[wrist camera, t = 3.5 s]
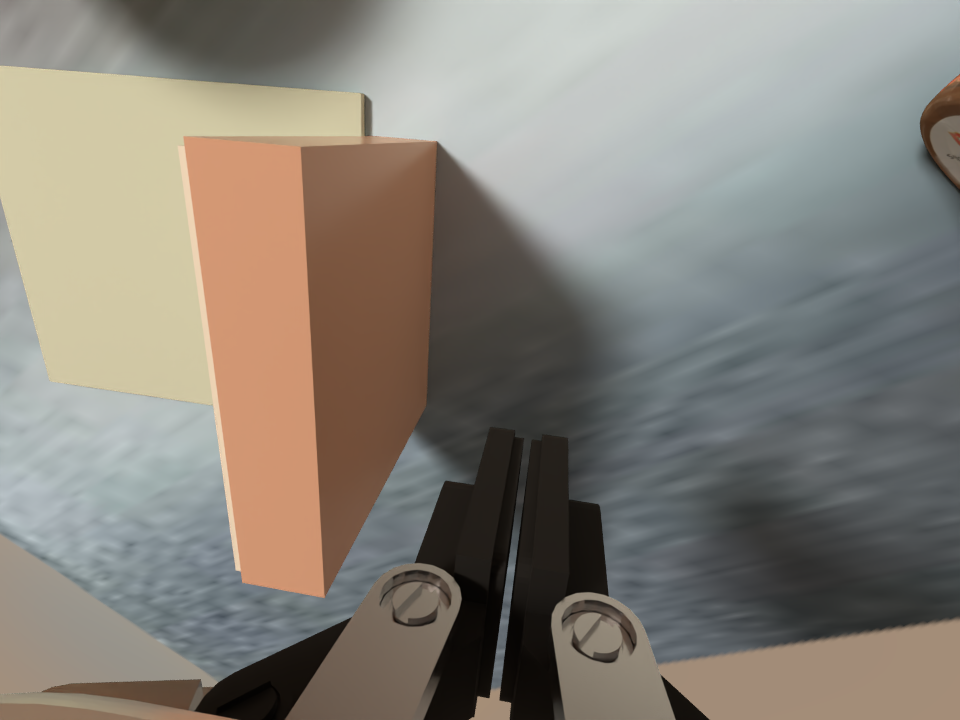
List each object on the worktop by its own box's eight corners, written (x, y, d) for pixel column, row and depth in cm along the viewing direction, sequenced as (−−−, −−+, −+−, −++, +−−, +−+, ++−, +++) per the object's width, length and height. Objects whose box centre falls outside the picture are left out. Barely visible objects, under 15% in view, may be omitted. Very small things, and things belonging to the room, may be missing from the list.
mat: (364, 94, 21) (360, 93, 21) (367, 423, 27) (364, 427, 27) (-27, 63, 23) (-36, 63, 23) (56, 378, 29) (50, 381, 29)
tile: (437, 141, 22) (300, 146, 11) (426, 405, 26) (324, 597, 15) (369, 135, 22) (169, 135, 11) (371, 397, 27) (232, 580, 16)
